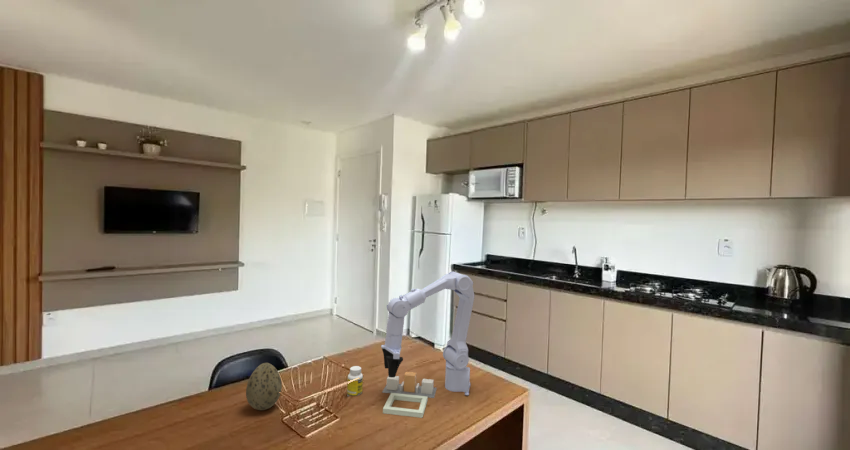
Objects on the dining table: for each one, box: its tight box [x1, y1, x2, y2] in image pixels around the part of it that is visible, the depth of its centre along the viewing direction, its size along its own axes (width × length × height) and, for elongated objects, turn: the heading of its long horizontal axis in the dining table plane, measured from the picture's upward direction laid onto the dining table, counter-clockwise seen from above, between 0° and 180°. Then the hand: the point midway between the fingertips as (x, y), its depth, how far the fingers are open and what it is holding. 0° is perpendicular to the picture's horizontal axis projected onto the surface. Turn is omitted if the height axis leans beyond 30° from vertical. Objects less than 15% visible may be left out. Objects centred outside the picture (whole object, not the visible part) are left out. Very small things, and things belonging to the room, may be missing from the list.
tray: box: [382, 393, 429, 419], centre depth 124 cm, size 13×11×2 cm
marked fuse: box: [403, 371, 417, 392], centre depth 136 cm, size 4×3×6 cm
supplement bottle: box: [346, 365, 364, 397], centre depth 133 cm, size 5×5×10 cm
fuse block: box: [381, 375, 438, 399], centre depth 136 cm, size 19×8×5 cm, turn 81°
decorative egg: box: [245, 362, 283, 411], centre depth 122 cm, size 11×11×15 cm
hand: (389, 372), depth 129 cm, fingers open, 7 cm apart
